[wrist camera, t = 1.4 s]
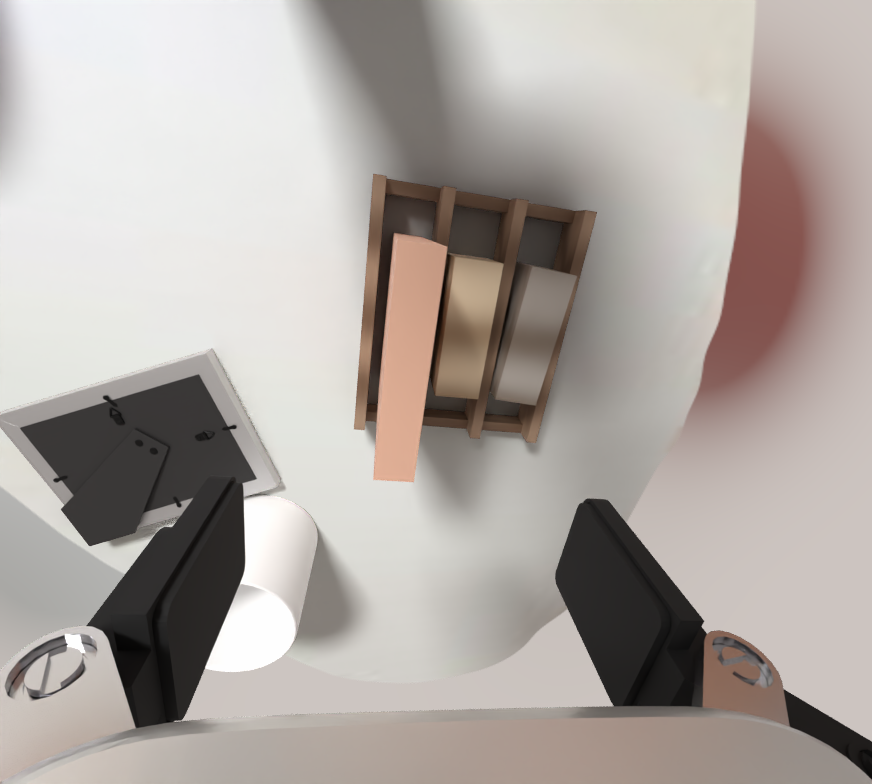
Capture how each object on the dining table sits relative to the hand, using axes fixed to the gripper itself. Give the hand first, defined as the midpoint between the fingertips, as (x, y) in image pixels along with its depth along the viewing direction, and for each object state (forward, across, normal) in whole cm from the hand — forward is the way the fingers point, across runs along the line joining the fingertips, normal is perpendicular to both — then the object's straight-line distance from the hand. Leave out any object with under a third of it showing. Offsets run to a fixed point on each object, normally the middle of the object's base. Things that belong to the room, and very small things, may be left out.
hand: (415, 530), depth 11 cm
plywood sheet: (+30, 0, 0) cm, 30 cm away
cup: (+31, +12, +28) cm, 43 cm away
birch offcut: (+31, -6, 0) cm, 31 cm away
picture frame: (+31, +23, +17) cm, 42 cm away
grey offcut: (+31, -12, 0) cm, 33 cm away
